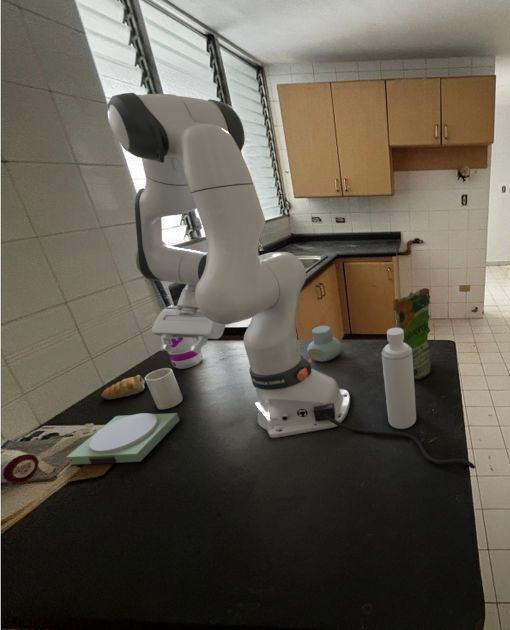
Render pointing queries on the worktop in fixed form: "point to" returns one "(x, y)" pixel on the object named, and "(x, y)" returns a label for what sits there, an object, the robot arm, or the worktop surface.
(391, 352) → the white bottle
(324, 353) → the air freshener
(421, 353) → the pouch
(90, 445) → the scale
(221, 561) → the worktop surface
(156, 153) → the robot arm
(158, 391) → the cup
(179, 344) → the supplement can
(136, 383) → the pastry
